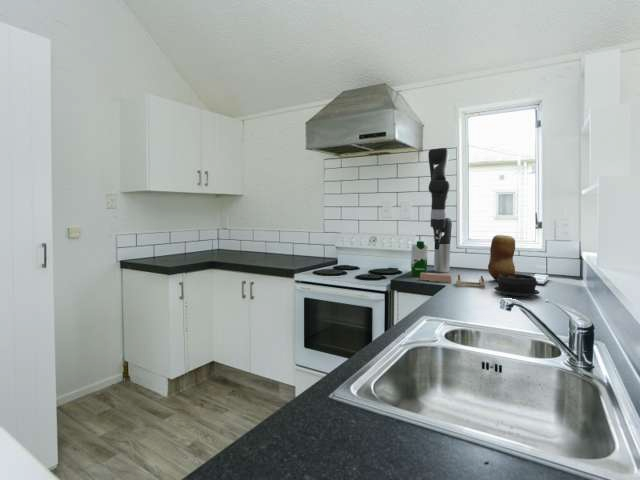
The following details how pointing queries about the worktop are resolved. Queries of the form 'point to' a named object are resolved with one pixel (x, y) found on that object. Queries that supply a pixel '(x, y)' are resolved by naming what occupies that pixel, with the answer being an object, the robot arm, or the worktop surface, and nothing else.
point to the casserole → (517, 285)
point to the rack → (479, 284)
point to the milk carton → (419, 258)
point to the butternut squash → (501, 256)
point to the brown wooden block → (436, 277)
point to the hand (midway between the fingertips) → (436, 248)
